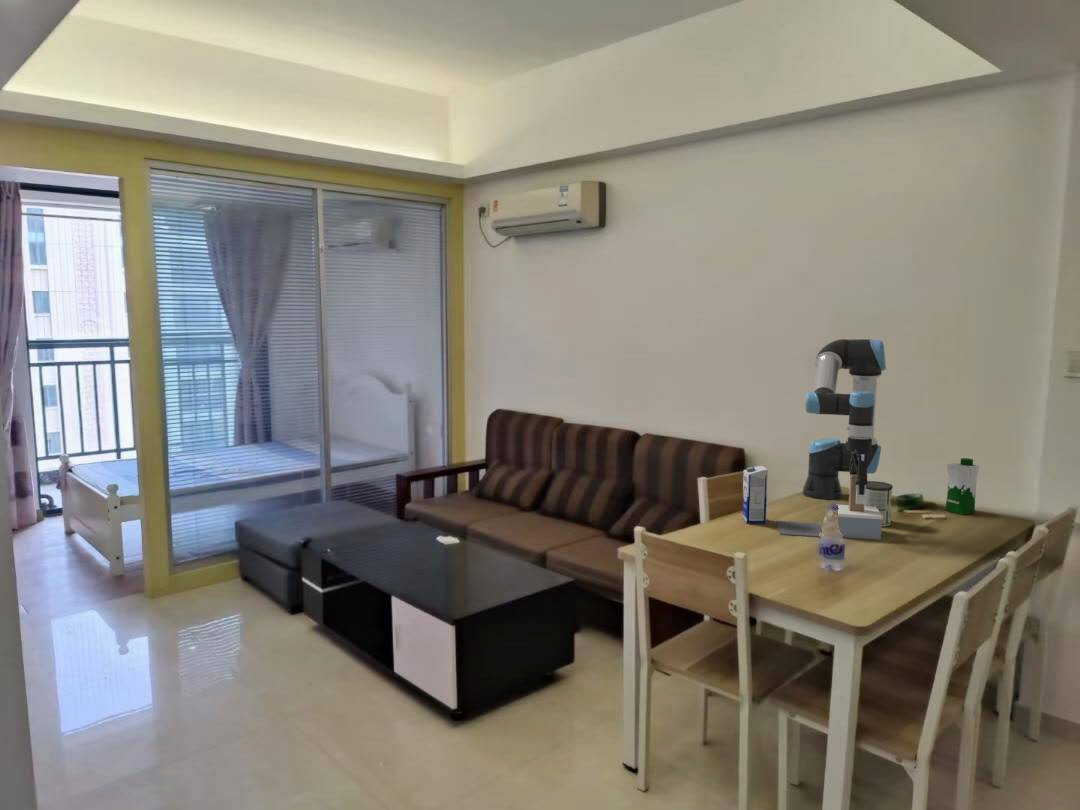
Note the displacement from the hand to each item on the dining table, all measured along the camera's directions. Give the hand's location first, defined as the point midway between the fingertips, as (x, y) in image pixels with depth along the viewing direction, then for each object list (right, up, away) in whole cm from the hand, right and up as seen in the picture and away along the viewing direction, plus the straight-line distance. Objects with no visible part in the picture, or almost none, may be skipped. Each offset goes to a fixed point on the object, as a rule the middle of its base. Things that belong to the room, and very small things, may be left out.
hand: (856, 498), depth 249 cm
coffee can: (+12, -11, +14) cm, 21 cm away
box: (0, -12, +1) cm, 12 cm away
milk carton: (-30, -10, +16) cm, 36 cm away
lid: (0, -7, +1) cm, 6 cm away
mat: (-17, -11, +6) cm, 22 cm away
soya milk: (+51, -9, +28) cm, 59 cm away
